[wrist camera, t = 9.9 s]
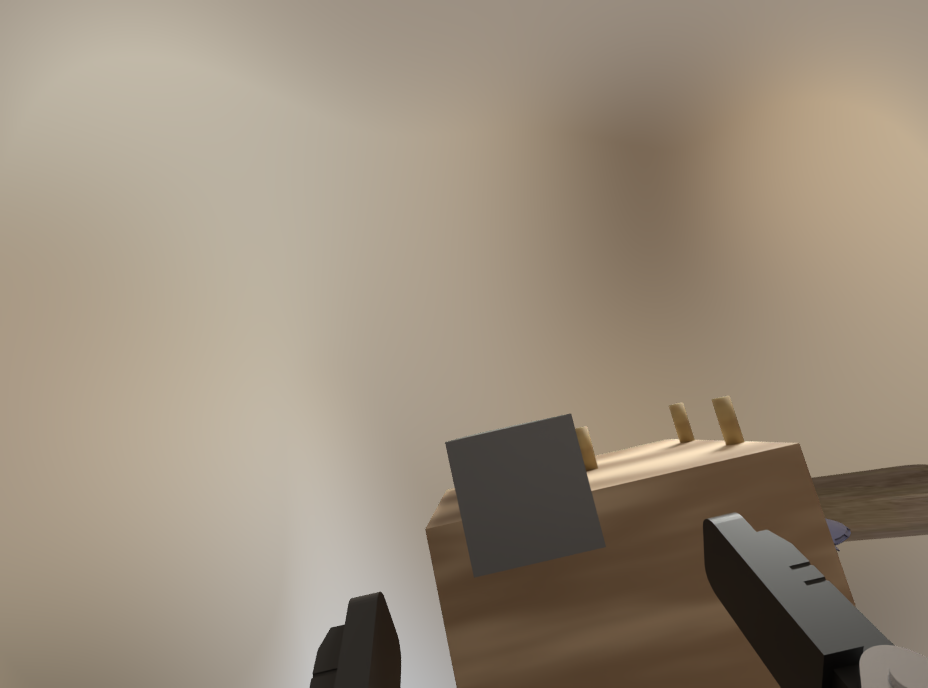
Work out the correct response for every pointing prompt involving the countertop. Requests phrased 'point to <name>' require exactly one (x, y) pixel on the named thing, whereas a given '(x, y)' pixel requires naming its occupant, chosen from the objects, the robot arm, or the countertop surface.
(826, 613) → the robot arm
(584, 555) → the oak block
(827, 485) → the countertop surface
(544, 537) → the bar
